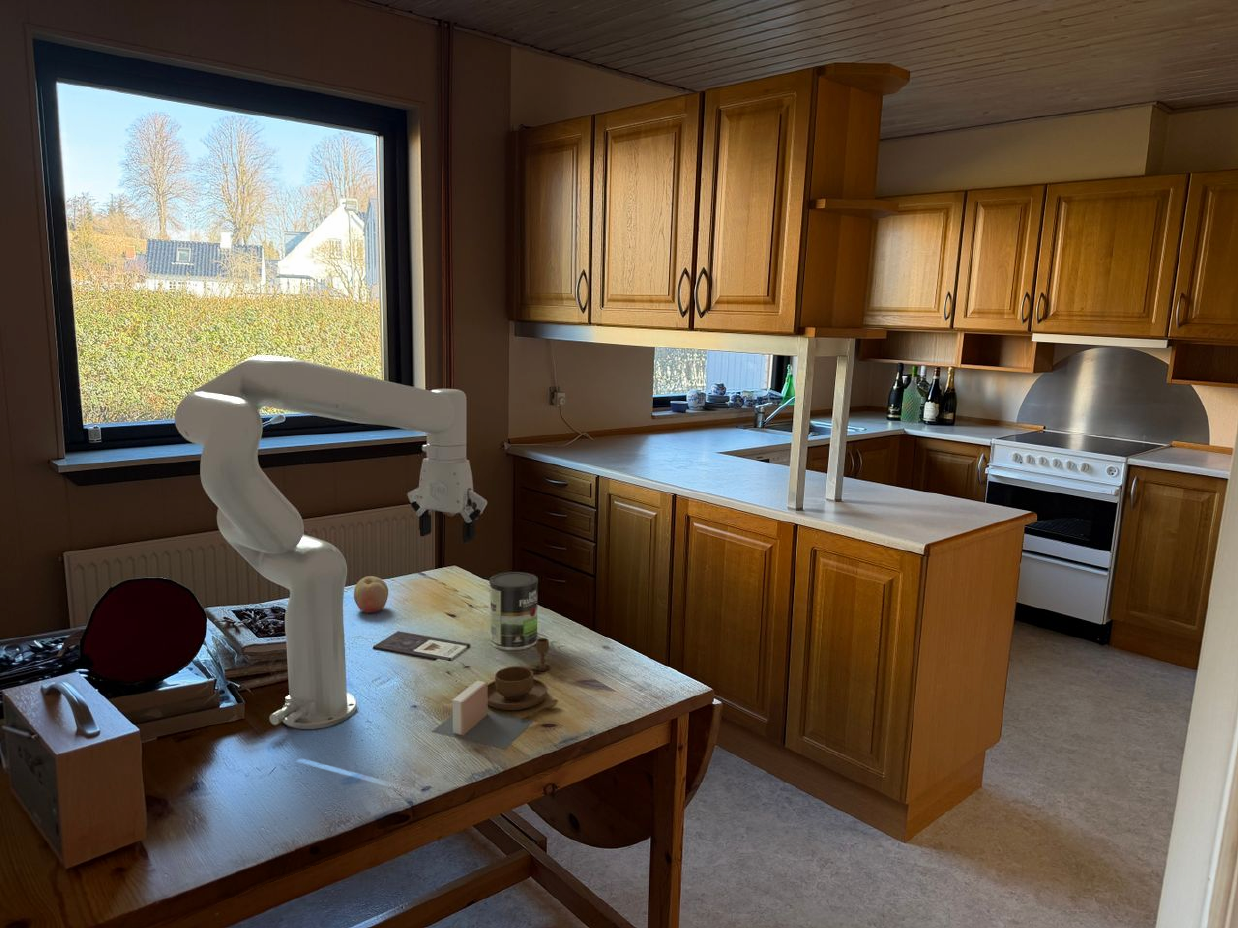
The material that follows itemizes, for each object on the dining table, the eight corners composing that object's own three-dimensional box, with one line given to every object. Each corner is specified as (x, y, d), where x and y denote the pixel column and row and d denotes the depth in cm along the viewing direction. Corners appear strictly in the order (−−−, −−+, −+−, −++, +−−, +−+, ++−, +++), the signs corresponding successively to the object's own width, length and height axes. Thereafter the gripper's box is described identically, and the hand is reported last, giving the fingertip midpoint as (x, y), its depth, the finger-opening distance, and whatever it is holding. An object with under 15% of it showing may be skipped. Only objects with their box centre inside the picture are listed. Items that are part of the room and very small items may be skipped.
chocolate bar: (397, 631, 182) (470, 643, 176) (398, 635, 182) (470, 647, 176) (372, 646, 173) (447, 660, 167) (373, 650, 173) (447, 664, 167)
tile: (463, 735, 138) (462, 702, 137) (453, 732, 139) (452, 699, 138) (487, 713, 146) (487, 682, 144) (477, 711, 146) (477, 680, 145)
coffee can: (547, 638, 181) (547, 576, 178) (519, 654, 172) (519, 590, 169) (509, 628, 186) (508, 568, 183) (480, 644, 177) (479, 581, 174)
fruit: (349, 616, 191) (347, 583, 189) (360, 604, 199) (359, 572, 197) (383, 617, 191) (381, 584, 189) (393, 605, 198) (392, 573, 197)
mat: (505, 752, 134) (504, 748, 134) (432, 734, 139) (431, 731, 139) (533, 724, 144) (533, 721, 144) (463, 708, 149) (463, 705, 149)
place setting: (459, 694, 154) (458, 664, 153) (542, 663, 168) (541, 635, 167) (518, 724, 142) (517, 692, 141) (602, 688, 156) (601, 659, 155)
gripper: (397, 451, 160) (398, 537, 163) (476, 459, 155) (476, 547, 158) (419, 446, 167) (419, 528, 170) (495, 453, 162) (494, 538, 165)
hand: (446, 537), depth 164 cm, fingers open, 9 cm apart
